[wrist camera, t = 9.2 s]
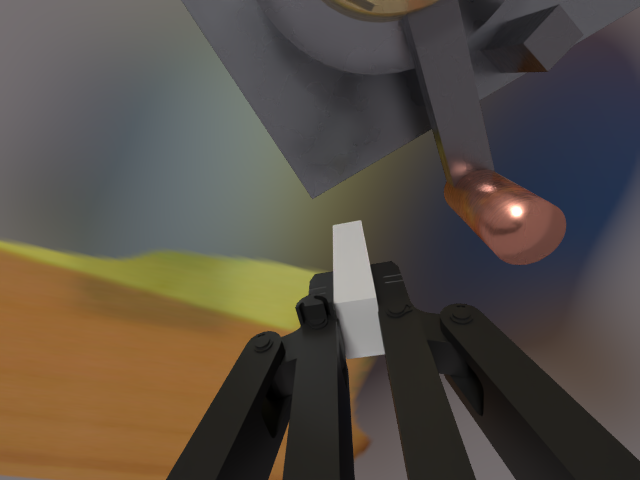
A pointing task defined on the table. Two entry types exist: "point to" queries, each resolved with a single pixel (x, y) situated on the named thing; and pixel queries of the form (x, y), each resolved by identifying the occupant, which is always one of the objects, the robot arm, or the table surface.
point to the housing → (372, 70)
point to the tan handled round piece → (465, 131)
